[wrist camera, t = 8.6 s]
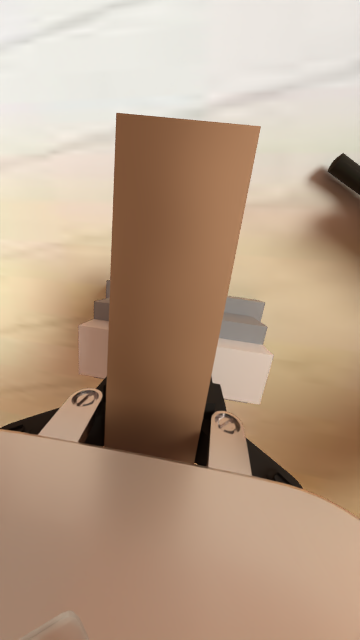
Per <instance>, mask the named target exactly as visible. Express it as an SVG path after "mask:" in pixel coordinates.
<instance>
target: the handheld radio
mask: <svg viewBox="0 0 360 640" xmlns="http://www.w3.org/2000/svg"><path fill="white" fill-rule="evenodd" d="M328 172H329V173H331V174H332V175H333V176H335V177H336V178H337V179H339V180H340V181H341V182H343V183H344V184H345V185H347V186H348V187H350V188H351V189H352V190H354V191H355V192H356V193H358V194H359V195H360V166H359V165H358V164H357V163H355V162H354V161H353V160H352V159H350V158H349V157H348V156H346V155H345V154H344V153H343V154H341V155H340V156H339V157H337V158H336V159H335V160H334V161H333V162H332V164H331V165H330V167H329V169H328Z"/></svg>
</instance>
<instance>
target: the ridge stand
mask: <svg viewBox="0 0 360 640" xmlns="http://www.w3.org/2000/svg"><path fill="white" fill-rule="evenodd" d="M109 303H110V280H107V284H106V299H102V300H97V301H94V319H92V320H90V321H88V322H85V323H83V324H80V325H78V328H79V374H81V375H87V376H93V377H96V378H102V379H105V378H106V377H107V357H108V330H109ZM264 306H265V303H264V302H261V301H259V300H252V299H245V298H238V297H231V296H227V299H226V304H225V309H224V314H223V319H222V324H221V329H220V334H219V340H218V345H217V350H216V355H215V360H214V365H213V370H212V375H211V376H212V382H213V383H216V384H220V386H221V390H222V394H223V398H224V399H226V400H232V401H238V402H244V403H253V404H259V405H260V402H261V398H262V395H263V391H264V388H265V384H266V381H267V377H268V374H269V370H270V367H271V363H272V360H273V357H274V355H273V354H272V353H271V352H270V351H269V350H268V349H267V348H266V347H265V346H264V345H263V342H264V338H265V335H266V331H267V326H265V325H264V324H262V323H261V322H260V321H261V317H262V314H263V310H264Z"/></svg>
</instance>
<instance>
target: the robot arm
mask: <svg viewBox="0 0 360 640" xmlns="http://www.w3.org/2000/svg"><path fill="white" fill-rule="evenodd" d="M106 385H107V377H106V378H105V379H104V380H103V381H102V382H101V384H100V385H99V386H98V387H97V388H96V389H94V388H86V389H81V390H79V391H76V392H75V393H73V394H72V395H71V396H70V397H69V398H68V399H67V400H66V401H65V403H64V404H63V405H62V406H61V407H60V408H57V409H54V410H51V411H48V412H45V413H42V414H38V415H35V416H32V417H29V418H26V419H23V420H20V421H17V422H13V423H11V424H8V425H6V426H4V427H2V428H0V640H360V519H359V518H358V517H357V516H355V515H354V514H352V513H350V512H349V511H347V510H346V509H344V508H342V507H340V506H338V505H337V504H335V503H333V502H331V501H329V500H327V499H326V498H323V497H321V496H319V495H316V494H314V493H312V492H309V491H307V490H304V489H303V488H302V487H301V485H300V484H299V483H298V481H297V480H296V479H295V478H294V477H293V476H292V475H290V474H289V473H288V472H287V471H286V470H284V469H283V468H282V467H281V466H279V465H278V464H277V463H276V462H275V461H273V460H272V459H271V458H270V457H269V456H267V455H266V454H265V453H264V452H263V451H261V450H260V449H259V448H258V447H256V446H255V445H254V444H253V443H252V442H250V441H249V440H248V439H247V438H246V436H245V430H244V426H243V423H242V422H241V420H240V419H239V418H238V417H237V416H235V415H234V414H232V413H229V412H227V411H226V406H225V402H224V398H223V394H222V390H221V386H220V384H216V383H213V382H212V376H211V380H210V385H209V390H208V395H207V400H206V405H205V410H204V415H203V420H202V425H201V430H200V435H199V440H198V445H197V450H196V455H195V460H194V463H197V464H198V465H196V464H191V463H185V462H180V461H175V460H170V459H165V458H160V457H155V456H149V455H144V454H139V453H134V452H128V451H123V450H118V449H112V448H107V447H103V446H104V439H105V412H106Z"/></svg>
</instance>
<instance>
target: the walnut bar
mask: <svg viewBox="0 0 360 640" xmlns="http://www.w3.org/2000/svg"><path fill="white" fill-rule="evenodd" d="M260 128H261V126H251V125H240V124H229V123H219V122H208V121H197V120H187V119H176V118H165V117H155V116H144V115H134V114H123V113H116V140H115V167H114V194H113V221H112V249H111V276H110V303H109V330H108V357H107V385H106V412H105V439H104V447H107V448H112V449H118V450H123V451H128V452H134V453H139V454H144V455H149V456H155V457H160V458H165V459H170V460H175V461H180V462H185V463H191V464H194V460H195V455H196V450H197V445H198V440H199V435H200V430H201V425H202V420H203V415H204V410H205V405H206V400H207V395H208V390H209V385H210V380H211V375H212V370H213V365H214V360H215V355H216V350H217V345H218V340H219V334H220V329H221V324H222V319H223V314H224V309H225V304H226V299H227V294H228V289H229V284H230V279H231V274H232V269H233V264H234V259H235V254H236V249H237V244H238V239H239V234H240V229H241V224H242V219H243V214H244V208H245V203H246V198H247V193H248V188H249V183H250V178H251V173H252V168H253V163H254V158H255V153H256V148H257V143H258V138H259V133H260Z"/></svg>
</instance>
